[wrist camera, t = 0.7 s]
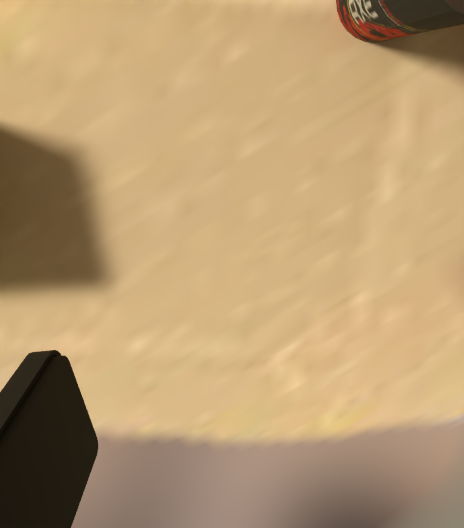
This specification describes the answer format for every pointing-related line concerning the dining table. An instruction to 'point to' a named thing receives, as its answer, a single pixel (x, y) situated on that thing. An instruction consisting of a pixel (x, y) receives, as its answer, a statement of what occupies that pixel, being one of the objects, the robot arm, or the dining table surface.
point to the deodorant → (397, 17)
